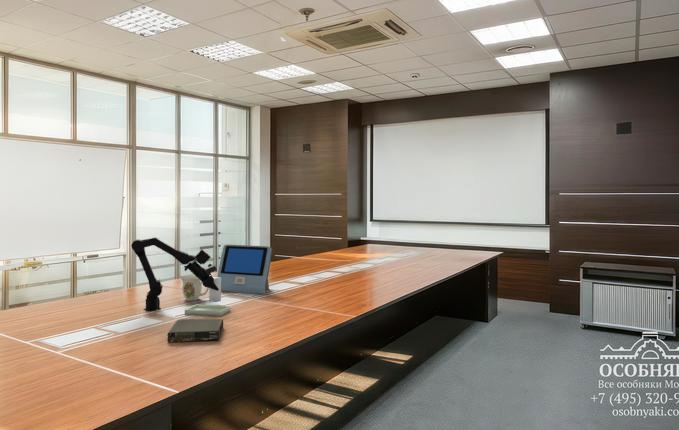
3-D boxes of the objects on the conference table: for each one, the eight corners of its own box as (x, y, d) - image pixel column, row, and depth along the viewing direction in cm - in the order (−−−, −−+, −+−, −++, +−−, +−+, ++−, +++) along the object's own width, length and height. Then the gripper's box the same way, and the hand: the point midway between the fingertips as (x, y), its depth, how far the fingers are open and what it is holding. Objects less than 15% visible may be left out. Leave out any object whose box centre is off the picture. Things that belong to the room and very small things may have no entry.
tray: (184, 314, 239) (184, 309, 239) (195, 308, 251) (195, 304, 251) (220, 316, 236) (220, 311, 235) (230, 310, 247) (230, 306, 247)
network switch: (166, 345, 190) (166, 333, 189) (171, 330, 212) (171, 319, 212) (224, 341, 196) (224, 330, 196) (223, 326, 218) (223, 316, 218)
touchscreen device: (214, 291, 298) (215, 245, 298) (229, 286, 317) (230, 243, 317) (263, 295, 288) (264, 247, 288) (276, 290, 306) (277, 245, 306)
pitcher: (205, 301, 268) (205, 278, 268) (175, 301, 268) (175, 278, 268) (211, 297, 279) (211, 275, 279) (181, 297, 279) (181, 274, 279)
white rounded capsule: (215, 302, 256) (215, 279, 255) (206, 301, 259) (207, 278, 258) (223, 300, 261) (223, 277, 261) (215, 299, 264) (215, 276, 264)
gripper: (209, 262, 249) (230, 281, 253) (207, 257, 266) (226, 276, 271) (194, 277, 247) (215, 296, 251) (192, 271, 264) (212, 289, 268)
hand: (217, 289), depth 260 cm, fingers closed on white rounded capsule, 6 cm apart
